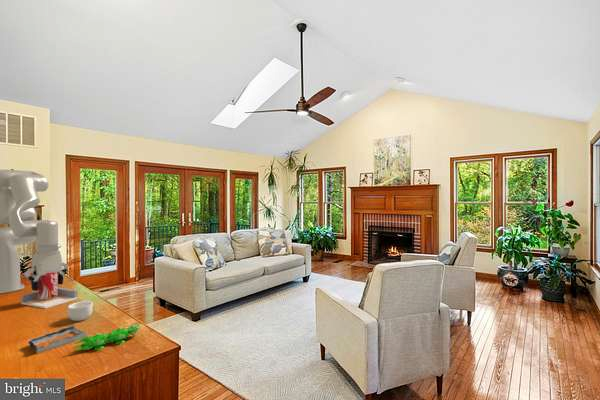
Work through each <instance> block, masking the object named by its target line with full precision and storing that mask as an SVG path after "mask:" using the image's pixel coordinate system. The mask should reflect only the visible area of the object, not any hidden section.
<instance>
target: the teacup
mask: <svg viewBox="0 0 600 400" xmlns="http://www.w3.org/2000/svg"><path fill="white" fill-rule="evenodd" d="M93 307H94V304H93V301H90V300H85V301H78V302H74V303H70V304H69V305H68V306H67V315H68V318H69V319H70V320H71V321H73V322H80V321H84V320H87V319H88V318H90V316H91V315H92V313H93V309H94V308H93Z"/></svg>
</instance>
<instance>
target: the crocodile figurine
mask: <svg viewBox="0 0 600 400" xmlns="http://www.w3.org/2000/svg"><path fill="white" fill-rule="evenodd" d="M140 328H141V325H138V324H131V325H130V326H129V327H127V328H124V327H122V328H121V327H118V328H117V329H115V330H112V331H111V330H110V331H109V332H106V333H104V332H102V333H100V334H99V333H94V335H86V336H85V337H84V338H82V339H80V340H77V341H74V342H73V344H74V346H73V347H72V348H73V350H74V351H81V350H82V351H83V350H91V349H93V348H94V351H100V350H102V348H103V349H105V345H106V344H107V343H114V342H115V345H119V344H120V343H121V344H123V342H124V343H125V340H126V339H127V338H128V337H129V336H130V335H131V336H133V337H134V336H135V337H136V336H137V334H136V333H137V332H138V330H140ZM122 339H124V340H122ZM80 343H81V344H80ZM75 344H76V345H75ZM121 344H120V345H121ZM99 349H100V350H99Z"/></svg>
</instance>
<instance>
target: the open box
mask: <svg viewBox="0 0 600 400" xmlns="http://www.w3.org/2000/svg"><path fill="white" fill-rule="evenodd" d="M20 299H21V305H26V306H29V307H35V308H40V309H48V308H51V307H54V306H58V305H60V304H65V303H67V302H71V301H75V300H78V290H77V289H71V288H65V287H64V288H63V287H58V295H57V296H56V297H55V298H53V299H49V300H41V299H38V291H33V292H29V293H25V294H21V298H20Z"/></svg>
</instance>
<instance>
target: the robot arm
mask: <svg viewBox="0 0 600 400" xmlns="http://www.w3.org/2000/svg"><path fill="white" fill-rule="evenodd" d="M48 189H49V181H48V179H47V177H46V176H44V175H43V174H40V173H38V172H35V171H33V170H32V171H31V170H15V169H0V225H9V226H2V227H0V294H5V293H6V294H7V293H12V292H17V291H20V290H23V289H25V284H22V283H21V254H20V252H19V250H18V249H17V248H15V247H14V246H18V245H28V244H32V243H35V242H36V243H35V244H36V245H35V247H36V251H35V253H33V255H32V261H31V268H30V269H28V270H27V271H25V272H24V273H23V275H24V276H25V278H26V279H27V280H28V281H30V282H31V289H32V291H33V292H36V291H38V290H39V282H38V281H37V280H38V279H39V277H40V276H44V275H46V273H49V272H54V271H55V273H57V274H58V285H61V286H62V285H63V284H64V276H65V274H66V273H67V272H68V269H69V267H70V264H67V263H66V262H65V263H64V262H63V259H62V254H61V251H60V250H59V249H60V248H62V245H61V244H59V224H58V222H57V221H55V220H49V219H38V220H37V211H36V209H35V207H37V206H38V205H40V202H41V200H40V196H39V194H38V193H39V192H42V193H43V192H46V191H48Z"/></svg>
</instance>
